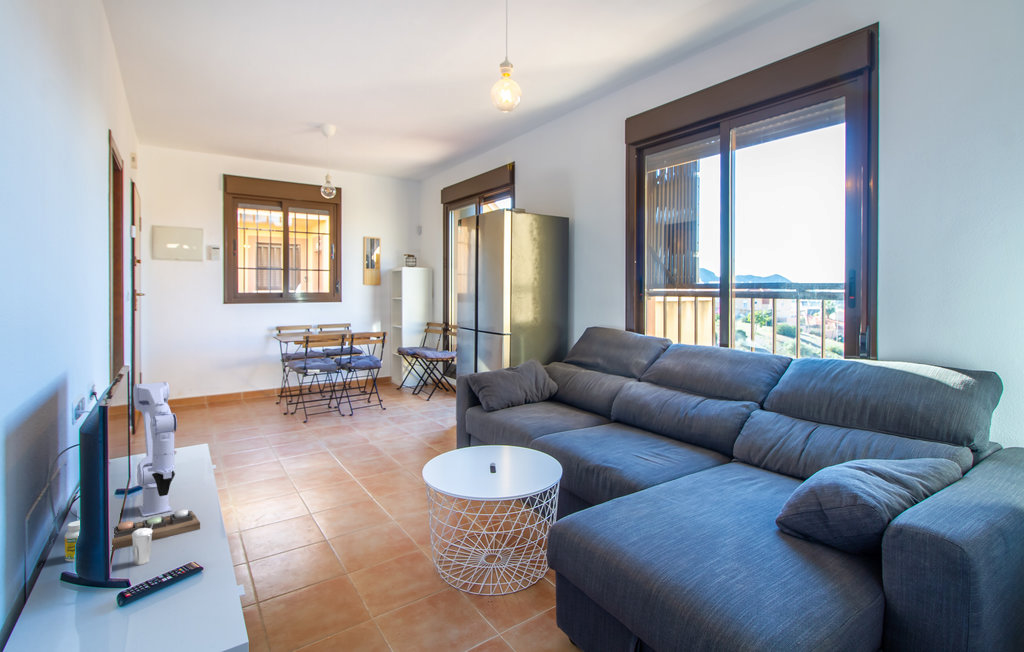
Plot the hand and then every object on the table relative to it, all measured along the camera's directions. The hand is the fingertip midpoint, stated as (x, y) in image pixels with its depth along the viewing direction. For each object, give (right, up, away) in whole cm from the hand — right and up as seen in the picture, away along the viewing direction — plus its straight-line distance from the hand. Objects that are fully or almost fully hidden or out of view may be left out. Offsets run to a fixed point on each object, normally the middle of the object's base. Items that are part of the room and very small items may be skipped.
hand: (163, 495), depth 159 cm
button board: (+1, -10, -5) cm, 11 cm away
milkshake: (+10, -11, -23) cm, 27 cm away
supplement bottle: (-9, -10, -21) cm, 25 cm away
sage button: (+1, -7, -5) cm, 9 cm away
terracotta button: (-4, -7, -10) cm, 13 cm away
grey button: (+6, -7, -1) cm, 9 cm away
